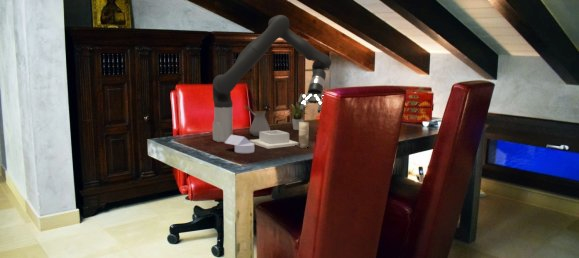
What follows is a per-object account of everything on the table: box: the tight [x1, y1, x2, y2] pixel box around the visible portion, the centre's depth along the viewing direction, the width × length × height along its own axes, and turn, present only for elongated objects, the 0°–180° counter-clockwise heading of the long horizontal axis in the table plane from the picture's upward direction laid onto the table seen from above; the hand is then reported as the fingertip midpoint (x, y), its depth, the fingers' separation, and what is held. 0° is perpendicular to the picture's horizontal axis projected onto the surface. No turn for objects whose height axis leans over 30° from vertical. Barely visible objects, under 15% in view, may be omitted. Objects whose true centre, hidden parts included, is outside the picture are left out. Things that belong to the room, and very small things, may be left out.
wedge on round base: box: [224, 134, 255, 154], centre depth 228 cm, size 9×7×13 cm
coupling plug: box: [297, 121, 310, 149], centre depth 238 cm, size 6×5×12 cm
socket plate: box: [248, 129, 299, 150], centre depth 246 cm, size 18×18×6 cm
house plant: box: [287, 103, 310, 131], centre depth 290 cm, size 14×14×16 cm
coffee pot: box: [244, 105, 271, 137], centre depth 273 cm, size 21×12×15 cm, turn 37°
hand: (310, 111), depth 248 cm, fingers open, 8 cm apart
